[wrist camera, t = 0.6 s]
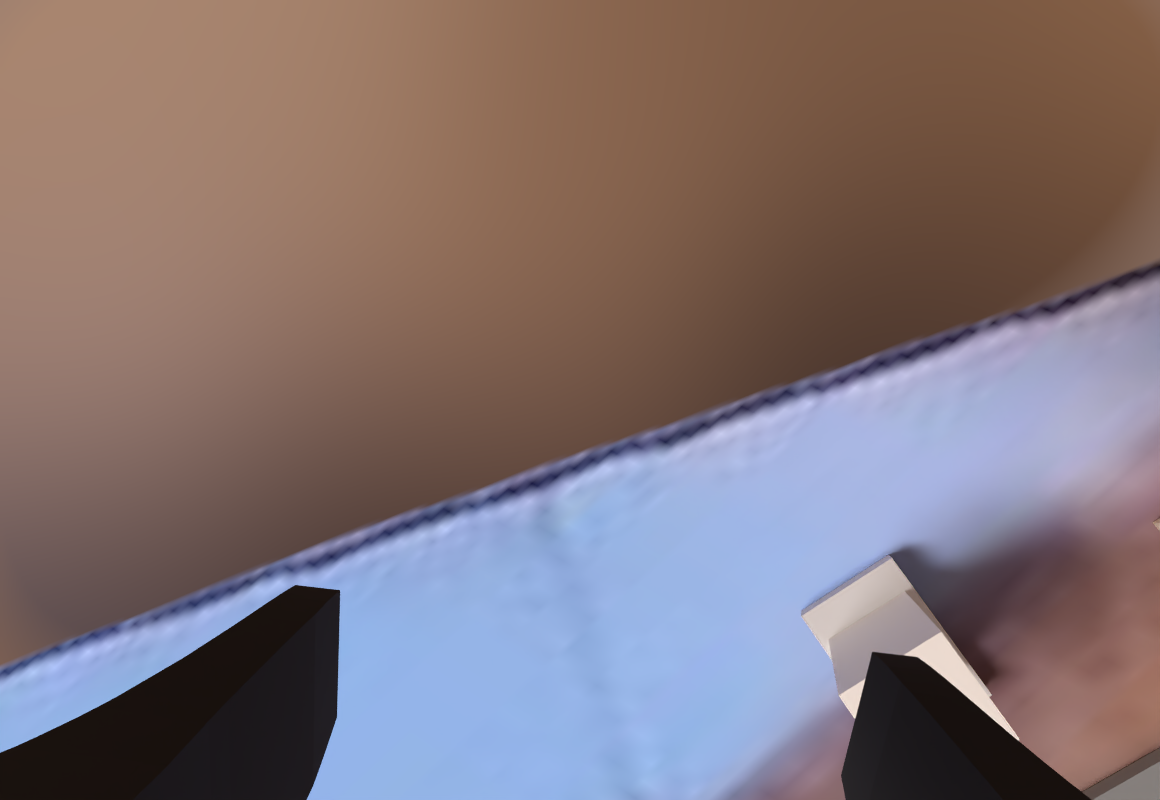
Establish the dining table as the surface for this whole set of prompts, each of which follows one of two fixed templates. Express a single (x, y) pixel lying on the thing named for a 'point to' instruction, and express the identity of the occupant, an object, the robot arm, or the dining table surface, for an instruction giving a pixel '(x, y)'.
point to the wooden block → (1157, 523)
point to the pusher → (888, 634)
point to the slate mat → (1131, 781)
